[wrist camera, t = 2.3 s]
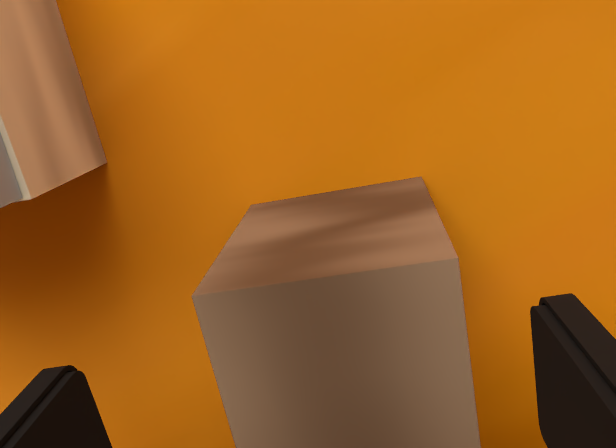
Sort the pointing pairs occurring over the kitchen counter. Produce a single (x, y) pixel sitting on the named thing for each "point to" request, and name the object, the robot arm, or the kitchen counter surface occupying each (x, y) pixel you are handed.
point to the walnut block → (341, 324)
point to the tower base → (43, 100)
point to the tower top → (7, 179)
